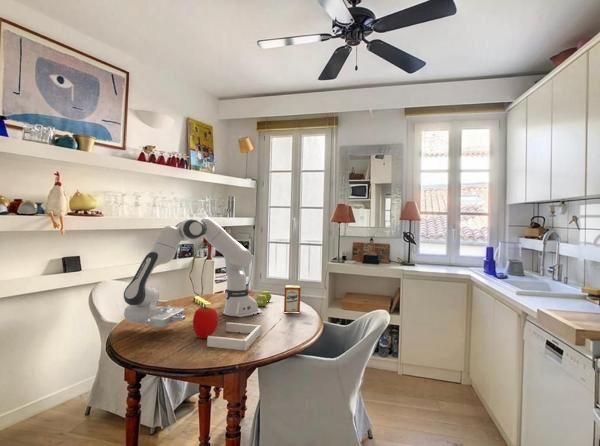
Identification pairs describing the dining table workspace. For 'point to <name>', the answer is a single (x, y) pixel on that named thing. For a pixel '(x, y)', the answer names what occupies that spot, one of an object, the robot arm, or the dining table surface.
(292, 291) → the baking soda box
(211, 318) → the red apple
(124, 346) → the dining table surface
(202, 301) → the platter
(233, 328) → the white tray
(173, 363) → the dining table surface
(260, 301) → the dumbbell
